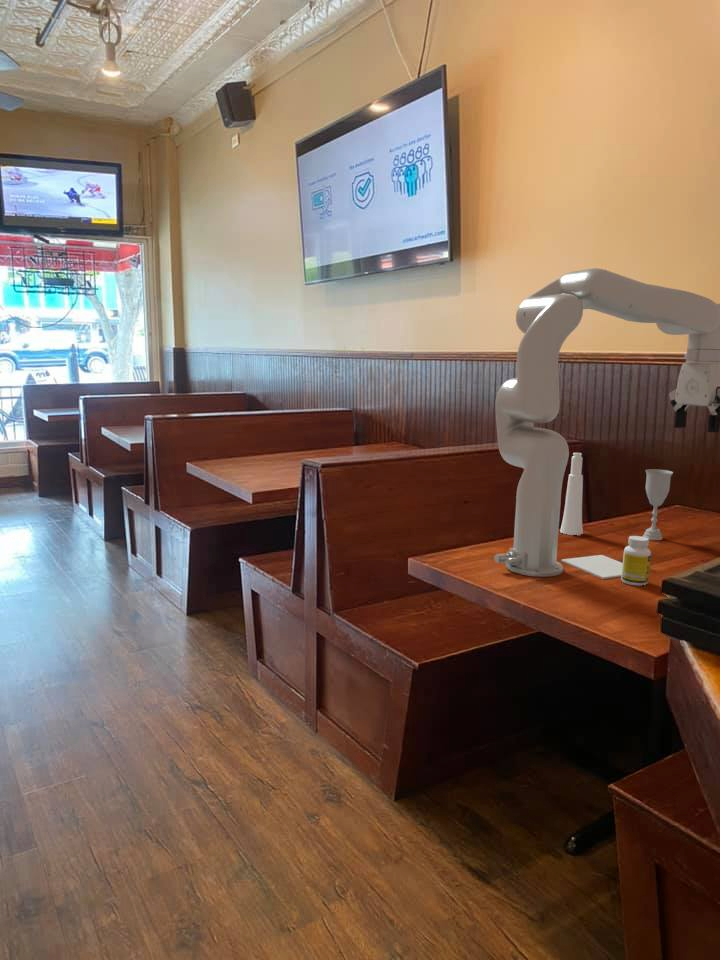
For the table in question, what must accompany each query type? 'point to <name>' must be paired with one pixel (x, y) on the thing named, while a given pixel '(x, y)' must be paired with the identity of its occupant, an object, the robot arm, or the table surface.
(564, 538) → the table surface
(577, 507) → the cosmetic bottle
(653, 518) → the chalice
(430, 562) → the table surface
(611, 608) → the table surface
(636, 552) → the supplement bottle
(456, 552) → the table surface
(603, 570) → the mat
